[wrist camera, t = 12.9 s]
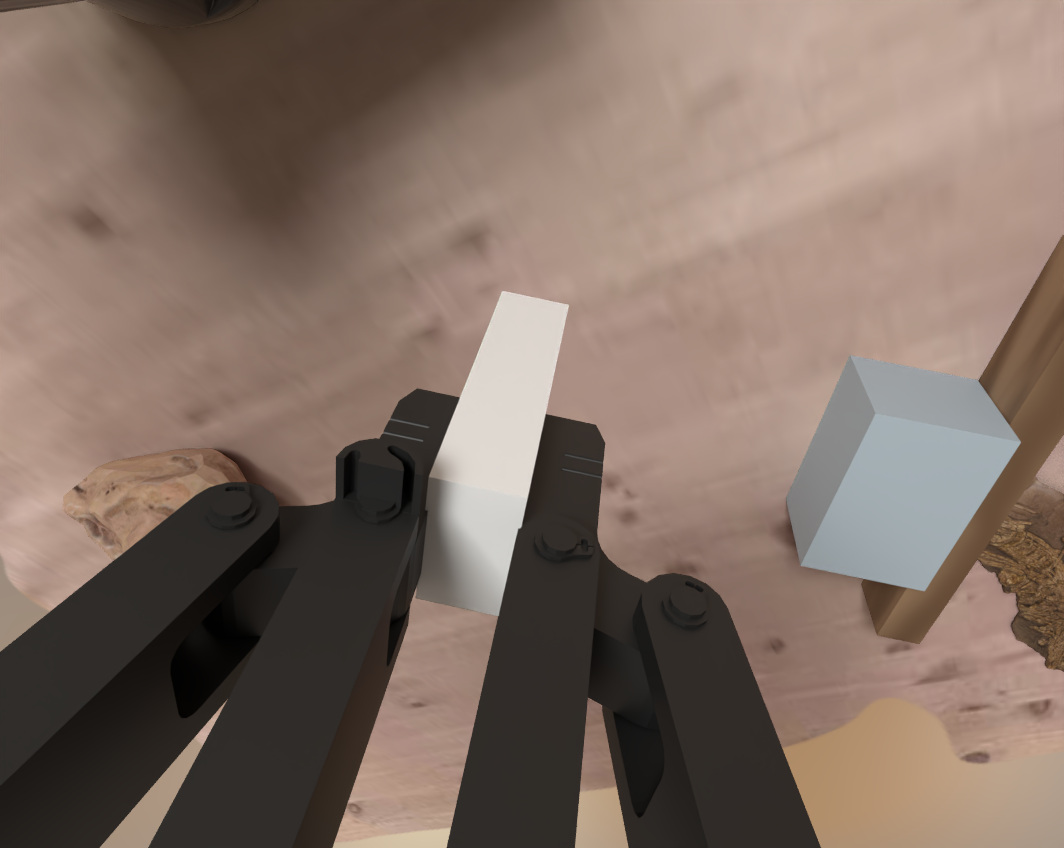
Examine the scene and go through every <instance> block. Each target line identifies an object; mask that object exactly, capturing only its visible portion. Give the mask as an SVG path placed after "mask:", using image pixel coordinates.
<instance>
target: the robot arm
mask: <svg viewBox="0 0 1064 848" xmlns="http://www.w3.org/2000/svg"><path fill="white" fill-rule="evenodd" d="M79 1H87V2H90V3H92V4H95V5H97V6H100V7H102V8H105V9H107V10H109V11H112V12H114V13H117V14H119V15H122V16H124V17H127V18H129V19H132V20H135V21H138V22H142V23H146V24H150V25H155V26H162V27H175V28H180V27H193V26H199V25H204V24H209V23H214V22H218V21H222V20H225V19H228V18H231V17H233V16H235V15H238V14H240V13H241V12H243V11H245V10H247V9H248V8H249V7H251V6H252V5H254V4H255V3H256V2H257V1H258V0H0V12H7V11H15V10H22V9H29V8H36V7H44V6H51V5H58V4H65V3H72V2H79ZM568 307H569V305H567V304H562V303H558V302H553V301H548V300H543V299H539V298H534V297H529V296H525V295H520V294H515V293H510V292H506V291H502V293H501V296H500V298H499V301H498V303H497V306H496V308H495V311H494V313H493V316H492V318H491V321H490V324H489V326H488V329H487V331H486V334H485V336H484V339H483V341H482V344H481V346H480V349H479V351H478V354H477V356H476V359H475V361H474V364H473V366H472V369H471V371H470V374H469V377H468V379H467V382H466V384H465V387H464V389H463V392H462V394H461V397H460V398H459V397H455V396H450V395H445V394H441V393H436V392H431V391H427V390H422V389H416V390H414V391H413V392H411V393H410V394H409V395H407V396H406V397H404V398H403V399H401V400H400V401H399V402H398V404H397V406H396V408H395V410H394V412H393V414H392V416H391V419H390V420H389V422H388V424H387V426H386V427H385V429H384V433H383V434H382V435H381V437H380V439H376V438H375V439H368V440H362V441H358V442H356V443H353V444H351V445H349V446H347V447H345V448H344V449H343V450H342V451H341V452H340V453H339V454H338V455H337V456H336V498H335V500H334V501H331V502H327V503H324V504H320V505H311V506H285V507H279V503H278V501H277V500H276V498H275V496H274V494H273V493H271V492H270V491H268V490H267V489H265V488H264V487H262V486H260V485H256V484H252V483H248V482H227V483H223V484H219V485H215V486H211V487H209V488H207V489H205V490H204V491H202V492H200V493H198V494H197V495H195V496H194V497H193V498H191V499H190V500H189V501H188V502H186V503H185V504H184V505H183V506H181V507H180V508H179V509H178V510H176V511H175V512H174V513H173V514H171V515H170V516H169V517H168V518H166V519H165V520H164V521H163V522H161V523H160V524H159V525H158V526H156V527H155V528H154V529H153V530H151V531H150V532H149V533H148V534H146V535H145V536H144V537H143V538H141V539H140V540H139V541H138V542H136V543H135V544H134V545H133V546H132V547H130V548H129V549H128V550H127V551H125V552H124V553H123V554H122V555H120V556H119V557H118V558H117V559H115V560H114V561H113V562H112V563H110V564H109V565H108V566H107V567H105V568H104V569H103V570H102V571H100V572H99V573H98V574H97V575H95V576H94V577H93V578H92V579H90V580H89V581H88V582H87V583H85V584H84V585H83V586H82V587H80V588H79V589H78V590H77V591H75V592H74V593H73V594H72V595H70V596H69V597H68V598H67V599H66V600H64V601H63V602H62V603H61V604H59V605H58V606H57V607H56V608H54V609H53V610H52V611H51V612H49V613H48V614H47V615H46V616H44V617H43V618H42V619H41V620H39V621H38V622H37V623H36V624H34V625H33V626H32V627H31V628H29V629H28V630H27V631H26V632H24V633H23V634H22V635H21V636H19V637H18V638H17V639H16V640H15V641H13V642H12V643H11V644H9V645H8V646H7V647H6V648H5V649H3V650H2V651H1V652H0V848H100V846H101V845H102V844H103V843H104V842H105V841H106V839H107V838H108V837H109V836H110V835H111V833H112V832H113V831H114V830H115V829H116V828H117V827H118V826H119V824H120V823H121V822H122V821H123V820H124V819H125V817H126V816H127V815H128V814H129V813H130V812H131V810H132V809H133V808H134V807H135V806H136V805H137V803H138V802H139V801H140V800H141V799H142V798H143V796H144V795H145V794H146V793H147V792H148V790H150V788H151V787H152V786H153V785H154V784H155V783H156V781H157V780H158V779H159V778H160V777H161V776H162V774H163V773H164V772H165V771H166V770H167V769H168V767H169V766H170V765H171V764H172V763H173V762H174V761H175V759H176V758H177V757H178V756H179V755H180V754H181V752H182V751H183V750H184V749H185V748H186V747H187V745H188V744H189V743H190V742H191V741H192V739H193V738H194V737H195V736H196V735H197V734H198V733H199V731H200V730H201V729H202V728H203V727H204V726H205V725H206V723H207V722H208V721H209V720H210V719H211V718H212V716H213V715H214V714H215V713H216V712H217V711H218V709H219V708H220V707H221V706H222V705H223V704H224V702H225V701H226V700H227V699H228V700H227V702H226V704H225V705H224V707H223V709H222V711H221V713H220V715H219V717H218V719H217V720H216V722H215V724H214V726H213V728H212V730H211V732H210V733H209V735H208V737H207V739H206V741H205V743H204V745H203V747H202V749H201V750H200V752H199V754H198V756H197V758H196V760H195V762H194V763H193V765H192V767H191V769H190V771H189V773H188V775H187V777H186V778H185V780H184V782H183V784H182V786H181V788H180V789H179V791H178V793H177V795H176V797H175V799H174V801H173V803H172V805H171V806H170V808H169V810H168V812H167V814H166V816H165V817H164V819H163V821H162V823H161V825H160V827H159V829H158V831H157V832H156V834H155V836H154V838H153V840H152V842H151V844H150V846H149V847H148V848H332V847H333V844H334V841H335V839H336V836H337V833H338V830H339V827H340V824H341V821H342V818H343V815H344V812H345V809H346V806H347V803H348V800H349V797H350V794H351V791H352V788H353V786H354V783H355V780H356V777H357V774H358V771H359V768H360V765H361V762H362V759H363V756H364V753H365V750H366V747H367V744H368V741H369V738H370V735H371V733H372V730H373V727H374V724H375V721H376V718H377V715H378V712H379V709H380V706H381V703H382V700H383V697H384V694H385V691H386V688H387V685H388V682H389V679H390V677H391V674H392V671H393V668H394V665H395V662H396V659H397V656H398V653H399V650H400V647H401V644H402V641H403V638H404V635H405V632H406V629H407V626H408V620H409V610H410V604H411V601H412V598H413V595H414V592H415V589H416V587H417V592H416V598H417V599H421V600H426V601H431V602H435V603H440V604H444V605H449V606H454V607H458V608H463V609H467V610H472V611H476V612H481V613H486V614H490V615H495V616H498V620H497V625H496V629H495V634H494V638H493V643H492V647H491V652H490V656H489V661H488V665H487V670H486V674H485V679H484V683H483V688H482V692H481V696H480V701H479V705H478V710H477V714H476V719H475V723H474V728H473V732H472V737H471V741H470V746H469V750H468V755H467V759H466V764H465V768H464V773H463V777H462V782H461V786H460V791H459V795H458V800H457V804H456V809H455V813H454V817H453V822H452V826H451V831H450V835H449V840H448V844H447V848H575V839H576V827H577V816H578V804H579V793H580V781H581V769H582V758H583V746H584V735H585V723H586V712H587V700H588V697H589V698H590V699H592V700H594V701H596V702H598V703H599V704H601V705H602V712H603V717H604V722H605V727H606V732H607V738H608V743H609V748H610V753H611V758H612V764H613V769H614V774H615V779H616V784H617V789H618V795H619V800H620V805H621V810H622V815H623V820H624V825H625V831H626V836H627V841H628V846H629V848H821V847H820V844H819V842H818V839H817V837H816V834H815V831H814V829H813V826H812V824H811V821H810V819H809V816H808V814H807V811H806V809H805V806H804V803H803V801H802V798H801V795H800V793H799V790H798V788H797V785H796V783H795V780H794V777H793V775H792V773H791V770H790V767H789V765H788V762H787V759H786V757H785V754H784V752H783V749H782V747H781V744H780V741H779V739H778V736H777V734H776V731H775V729H774V726H773V723H772V721H771V718H770V716H769V713H768V711H767V708H766V705H765V703H764V700H763V698H762V695H761V693H760V690H759V687H758V685H757V682H756V680H755V677H754V675H753V672H752V669H751V667H750V664H749V662H748V659H747V657H746V654H745V651H744V649H743V646H742V644H741V641H740V639H739V636H738V633H737V631H736V628H735V626H734V623H733V621H732V618H731V615H730V613H729V610H728V608H727V606H726V605H725V603H724V602H723V600H722V598H721V597H720V595H719V594H718V593H716V592H715V591H714V590H713V589H712V588H711V587H709V586H708V585H707V584H706V583H703V582H701V581H699V580H697V579H695V578H693V577H691V576H686V575H681V574H676V573H672V574H664V575H659V576H657V577H655V578H654V579H652V580H650V581H649V582H647V583H646V582H644V581H642V580H640V579H638V578H636V577H634V576H632V575H630V574H628V573H627V572H625V571H623V570H622V569H620V568H618V567H617V566H616V565H615V564H614V563H613V562H611V561H610V560H609V559H608V558H607V556H606V555H605V553H604V552H603V551H602V549H601V547H600V544H599V542H598V536H597V527H598V516H599V505H600V494H601V483H602V479H601V478H602V472H603V461H604V449H605V442H604V440H603V438H602V436H601V434H600V432H599V430H598V428H597V426H596V425H594V424H589V423H585V422H580V421H575V420H571V419H566V418H561V417H557V416H552V415H547V414H546V410H547V405H548V400H549V396H550V391H551V386H552V382H553V377H554V372H555V368H556V363H557V358H558V354H559V349H560V344H561V340H562V335H563V330H564V326H565V321H566V316H567V312H568Z"/></svg>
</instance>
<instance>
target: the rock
mask: <svg viewBox="0 0 1064 848" xmlns="http://www.w3.org/2000/svg"><path fill="white" fill-rule="evenodd" d="M227 482H247V481H246V479H245V477H244V476H243V474H242V472H241V471H240V469H239V467H238V465H237V464H236V463H235V462H233V461H232V460H231V459H229V458H228V457H226V456H225V455H223V454H222V453H220V452H218V451H216V450H214V449H211V448H209V449H179V450H172V451H167V452H163V453H157V454H150V455H144V456H137V457H132V458H128V459H123V460H118V461H112V462H109V463H107V464H104V465H101V466H99V467H98V468H96V469H95V470H94V471H93V472H92V473H91V474H89V475H88V476H87V477H86V478H85V479H84V480H83V481H82V482H80V483H79V484H78V485H77V486H75V487H74V488H73V489H72V490H70V491H69V492H68V493H67V494H65V495H64V504H63V511H64V512H65V513H67V514H68V515H69V516H71V517H72V518H73V519H75V520H76V521H78V522H79V523H81V524H83V525H84V527H85V529H86V532H87V534H88V537H90V538H91V539H92V540H93V541H95V542H96V543H97V544H98V545H99V546H100V547H101V548H102V549H103V550H104V551H105V552H106V553H107V555H108V556H109V557H110V558H111V559H113V560H115V559H117V558H118V557H119V556H120V555H122V554H123V553H124V552H125V551H127V550H128V549H129V548H130V547H132V546H133V545H134V544H135V543H136V542H138V541H139V540H140V539H141V538H143V537H144V536H145V535H146V534H148V533H149V532H150V531H151V530H153V529H154V528H155V527H156V526H158V525H159V524H160V523H161V522H163V521H164V520H165V519H166V518H168V517H169V516H170V515H171V514H173V513H174V512H175V511H176V510H178V509H179V508H180V507H181V506H183V505H184V504H185V503H186V502H188V501H189V500H190V499H191V498H193V497H194V496H195V495H197V494H198V493H200V492H202V491H204V490H205V489H207V488H209V487H211V486H215V485H219V484H223V483H227Z"/></svg>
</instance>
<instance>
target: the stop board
mask: <svg viewBox="0 0 1064 848" xmlns="http://www.w3.org/2000/svg"><path fill="white" fill-rule="evenodd" d="M979 383H980V384H981V386H982V387H983V388H984V390H985V391H986V393H987V394H988V396H989V397H990V398H991V400H992V401H993V403H994V404H995V406H996V407H997V408H998V410H999V411H1000V413H1001V414H1002V416H1003V417H1004V418H1005V420H1006V421H1007V423H1008V424H1009V426H1010V427H1011V428H1012V430H1013V431H1014V433H1015V434H1016V436H1017V437H1018V438H1019V440H1020V441H1021V443H1020V445H1019V446H1018V448H1017V449H1016V451H1015V453H1014V454H1013V456H1012V457H1011V459H1010V460H1009V462H1008V463H1007V465H1006V466H1005V468H1004V469H1003V471H1002V473H1001V474H1000V476H999V477H998V479H997V480H996V482H995V483H994V485H993V486H992V488H991V490H990V491H989V493H988V494H987V496H986V497H985V499H984V500H983V502H982V503H981V505H980V507H979V508H978V510H977V511H976V513H975V514H974V516H973V517H972V519H971V520H970V522H969V523H968V525H967V527H966V528H965V530H964V531H963V533H962V534H961V536H960V537H959V539H958V540H957V542H956V544H955V545H954V547H953V548H952V550H951V551H950V553H949V554H948V556H947V557H946V559H945V561H944V562H943V564H942V565H941V567H940V568H939V570H938V571H937V573H936V574H935V576H934V577H933V579H932V581H931V582H930V584H929V585H928V587H927V588H926V590H925V591H920V590H915V589H911V588H906V587H901V586H896V585H891V584H886V583H882V582H877V581H872V580H867V579H864V581H863V582H862V587H863V591H864V594H865V597H866V600H867V604H868V607H869V610H870V614H871V617H872V620H873V623H874V627H875V630H876V633H877V635H878V636H883V637H888V638H893V639H897V640H902V641H907V642H912V643H916V644H920V642H921V641H922V639H923V638H924V637H925V635H926V634H927V632H928V631H929V629H930V628H931V626H932V625H933V623H934V622H935V621H936V619H937V618H938V616H939V615H940V613H941V612H942V610H943V609H944V607H945V606H946V605H947V603H948V602H949V600H950V599H951V597H952V596H953V594H954V593H955V592H956V590H957V589H958V587H959V586H960V584H961V583H962V581H963V580H964V578H965V577H966V576H967V574H968V573H969V571H970V570H971V568H972V567H973V565H974V564H975V562H976V561H977V560H978V558H979V557H980V555H981V554H982V552H983V551H984V549H985V548H986V546H987V545H988V544H989V542H990V541H991V539H992V538H993V536H994V535H995V533H996V532H997V530H998V529H999V528H1000V526H1001V525H1002V523H1003V522H1004V520H1005V519H1006V517H1007V516H1008V515H1009V513H1010V512H1011V510H1012V509H1013V507H1014V506H1015V504H1016V503H1017V501H1018V500H1019V499H1020V497H1021V496H1022V494H1023V493H1024V491H1025V490H1026V488H1027V487H1028V485H1029V484H1030V483H1031V481H1032V480H1033V478H1034V477H1035V475H1036V474H1037V472H1038V471H1039V469H1040V468H1041V467H1042V465H1043V464H1044V462H1045V461H1046V459H1047V458H1048V456H1049V455H1050V454H1051V452H1052V451H1053V449H1054V448H1055V446H1056V445H1057V443H1058V442H1059V440H1060V439H1061V438H1062V436H1063V435H1064V235H1063V236H1062V237H1061V239H1060V241H1059V243H1058V244H1057V246H1056V248H1055V250H1054V251H1053V253H1052V255H1051V257H1050V258H1049V260H1048V262H1047V263H1046V265H1045V267H1044V269H1043V270H1042V272H1041V274H1040V276H1039V277H1038V279H1037V281H1036V283H1035V284H1034V286H1033V288H1032V289H1031V291H1030V293H1029V295H1028V296H1027V298H1026V300H1025V302H1024V303H1023V305H1022V307H1021V309H1020V310H1019V312H1018V314H1017V315H1016V317H1015V319H1014V321H1013V322H1012V324H1011V326H1010V328H1009V329H1008V331H1007V333H1006V335H1005V336H1004V338H1003V340H1002V341H1001V343H1000V345H999V347H998V348H997V350H996V352H995V354H994V355H993V357H992V359H991V360H990V362H989V364H988V366H987V367H986V369H985V371H984V373H983V374H982V376H981V378H980V380H979Z"/></svg>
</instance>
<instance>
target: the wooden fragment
mask: <svg viewBox="0 0 1064 848" xmlns="http://www.w3.org/2000/svg"><path fill="white" fill-rule="evenodd" d="M978 560H979V561H981V563H982V564H983V566H984V567H985V568H986V569H987V570H988V571H990V572H995V573H996V574H997V577H998V578H999V581H1000V582H1001V584H1002V585H1003V591H1004V592H1005V593H1016V596H1017V605H1018V608H1019V611H1020V612H1019V613H1017V616H1016V617H1015V620H1014V622H1013V624H1012V627H1013V632H1014V634H1015V635H1016V638H1017V640H1018V641H1022V642H1024V643H1026V644H1027V645H1028V646H1029V647H1031V648H1034V650H1035V651H1036V652H1039V653H1041V655H1042V656H1043V657H1045V658H1046V660H1047V661H1046V663H1045V665H1046V666H1047V668H1049V669H1053V670H1055V669H1058V670H1062V671H1063V672H1064V494H1062V493H1060V492H1058V491H1056V490H1055V489H1052V488H1049V487H1048V486H1046V485H1044V484H1043V483H1041V482H1039V481H1038V480H1037V478H1036V476H1035V477H1034V478H1033V480H1032V481H1031V483H1030V484H1029V485H1028V487H1027V488H1026V490H1025V491H1024V493H1023V494H1022V496H1021V497H1020V499H1019V500H1018V501H1017V503H1016V504H1015V506H1014V507H1013V509H1012V510H1011V512H1010V513H1009V515H1008V516H1007V517H1006V519H1005V520H1004V522H1003V523H1002V525H1001V526H1000V528H999V529H998V530H997V532H996V533H995V535H994V536H993V538H992V539H991V541H990V542H989V544H988V545H987V546H986V548H985V549H984V551H983V552H982V554H981V555H980V557H979V558H978Z"/></svg>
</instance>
